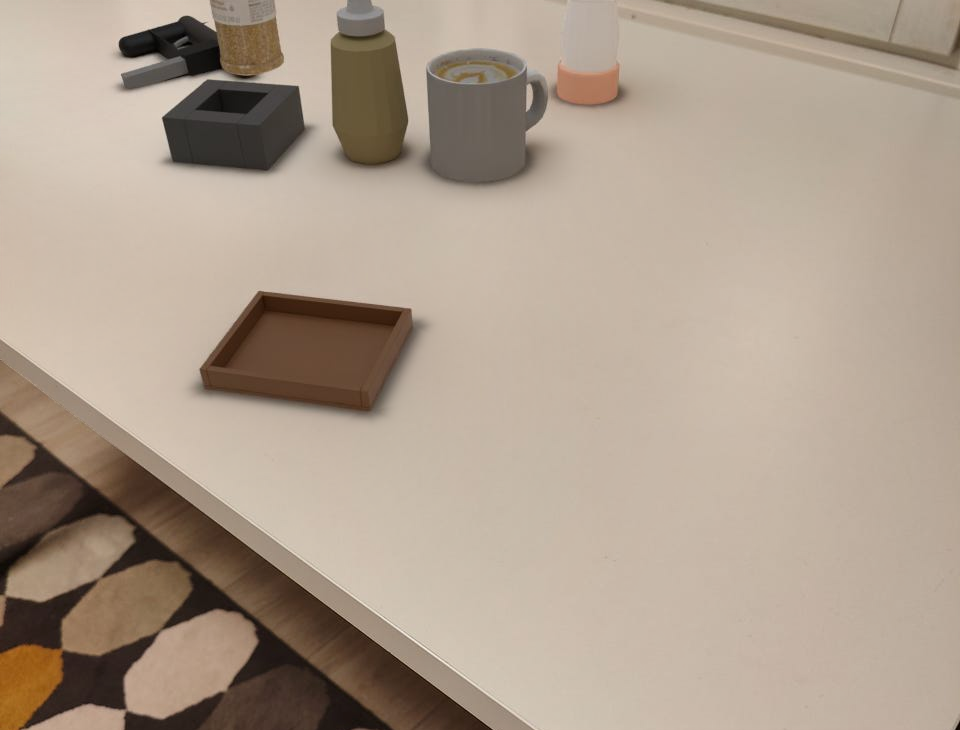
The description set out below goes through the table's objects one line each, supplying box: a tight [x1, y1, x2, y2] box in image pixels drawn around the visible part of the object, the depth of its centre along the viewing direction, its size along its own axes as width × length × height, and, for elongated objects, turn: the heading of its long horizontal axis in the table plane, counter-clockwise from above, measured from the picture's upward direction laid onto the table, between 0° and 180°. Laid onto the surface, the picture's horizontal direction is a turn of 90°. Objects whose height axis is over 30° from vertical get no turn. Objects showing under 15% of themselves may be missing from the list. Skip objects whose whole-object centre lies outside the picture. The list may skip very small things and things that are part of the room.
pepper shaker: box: [556, 0, 620, 106], centre depth 107 cm, size 7×7×19 cm
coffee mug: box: [425, 47, 549, 183], centre depth 97 cm, size 13×10×10 cm
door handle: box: [118, 15, 250, 90], centre depth 121 cm, size 3×20×16 cm
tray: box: [199, 290, 414, 412], centre depth 74 cm, size 13×11×2 cm
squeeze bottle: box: [330, 0, 409, 165], centre depth 96 cm, size 8×8×18 cm
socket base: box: [161, 78, 306, 171], centre depth 102 cm, size 11×11×5 cm
